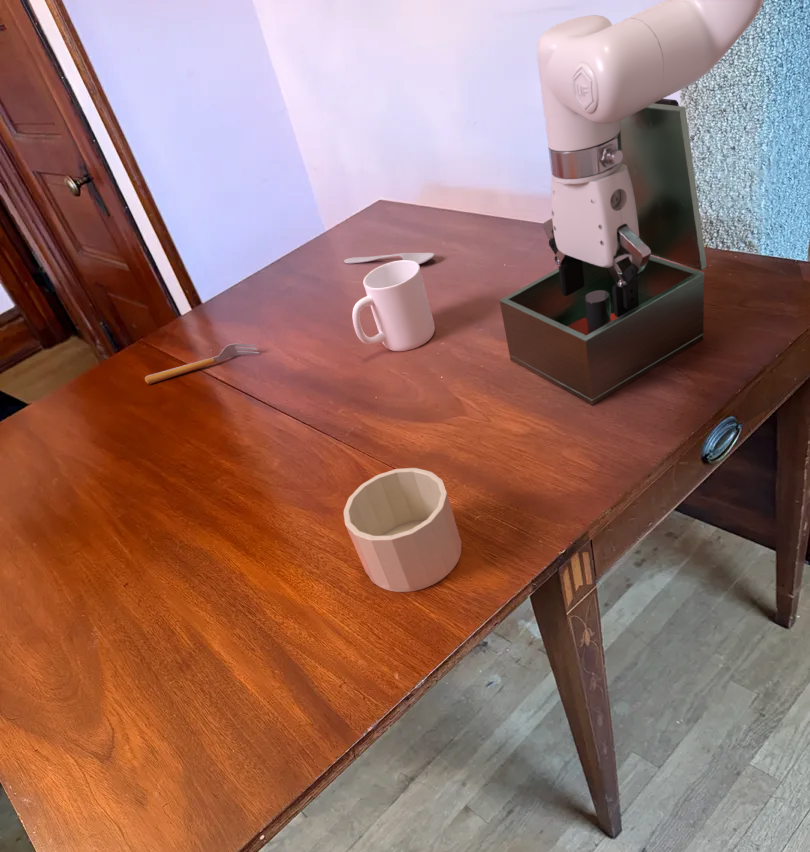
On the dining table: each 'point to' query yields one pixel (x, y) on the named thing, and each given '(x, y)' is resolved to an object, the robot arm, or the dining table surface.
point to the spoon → (405, 256)
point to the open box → (604, 328)
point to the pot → (403, 529)
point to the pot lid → (594, 313)
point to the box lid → (664, 182)
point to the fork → (202, 362)
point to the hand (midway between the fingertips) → (599, 301)
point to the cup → (396, 306)
